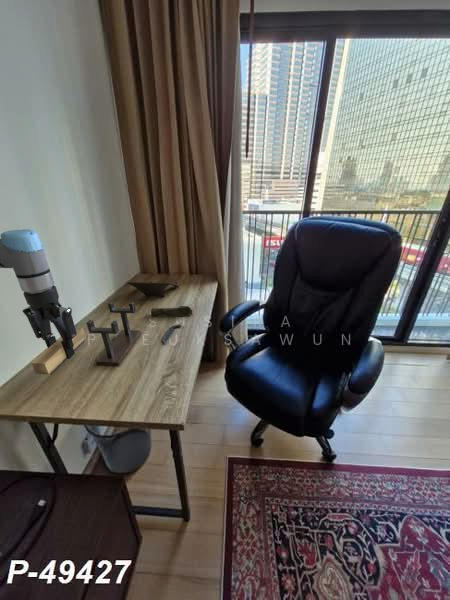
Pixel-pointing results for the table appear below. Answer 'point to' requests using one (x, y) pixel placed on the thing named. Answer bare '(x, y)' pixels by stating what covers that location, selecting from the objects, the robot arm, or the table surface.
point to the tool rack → (122, 342)
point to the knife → (170, 333)
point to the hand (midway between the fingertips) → (64, 355)
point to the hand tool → (172, 311)
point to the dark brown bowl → (152, 288)
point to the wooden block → (56, 355)
